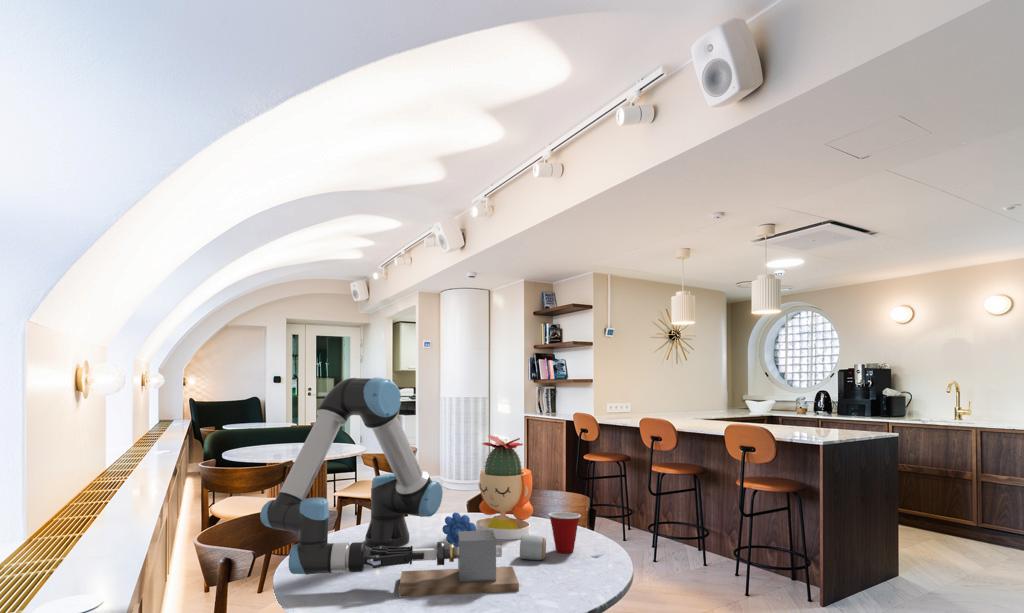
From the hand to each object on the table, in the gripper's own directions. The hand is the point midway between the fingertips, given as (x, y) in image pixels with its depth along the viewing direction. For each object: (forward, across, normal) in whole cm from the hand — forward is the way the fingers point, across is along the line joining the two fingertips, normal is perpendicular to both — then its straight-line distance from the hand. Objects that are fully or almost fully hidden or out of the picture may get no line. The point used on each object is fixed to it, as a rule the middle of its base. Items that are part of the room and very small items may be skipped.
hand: (436, 554), depth 162 cm
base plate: (+7, 0, -8) cm, 11 cm away
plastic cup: (+42, -27, -9) cm, 51 cm away
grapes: (+8, -32, -9) cm, 34 cm away
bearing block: (+11, 0, -6) cm, 13 cm away
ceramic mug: (+31, -22, -9) cm, 38 cm away
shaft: (+9, 0, -3) cm, 10 cm away
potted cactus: (+26, -54, -9) cm, 61 cm away
